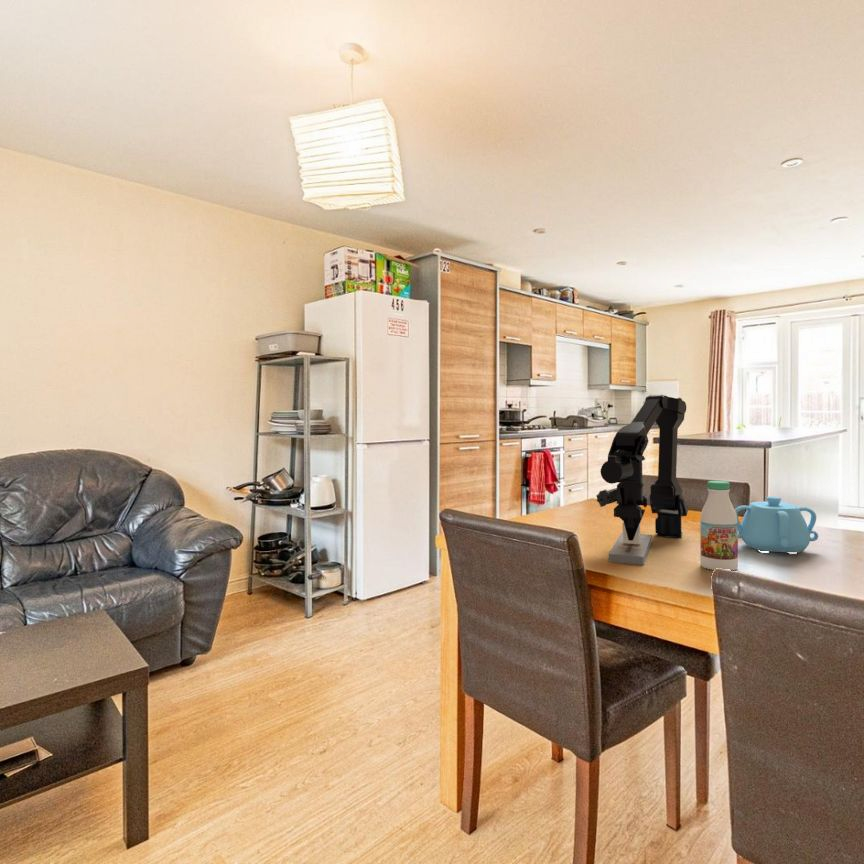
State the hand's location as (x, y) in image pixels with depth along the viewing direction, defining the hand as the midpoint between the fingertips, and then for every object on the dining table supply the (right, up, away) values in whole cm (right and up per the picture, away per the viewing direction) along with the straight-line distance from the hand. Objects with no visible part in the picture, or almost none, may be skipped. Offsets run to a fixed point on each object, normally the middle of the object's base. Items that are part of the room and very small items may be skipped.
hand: (631, 538), depth 144 cm
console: (0, -3, 0) cm, 3 cm away
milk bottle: (+14, -4, -16) cm, 22 cm away
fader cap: (0, -1, 0) cm, 1 cm away
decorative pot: (+36, -3, -2) cm, 36 cm away
